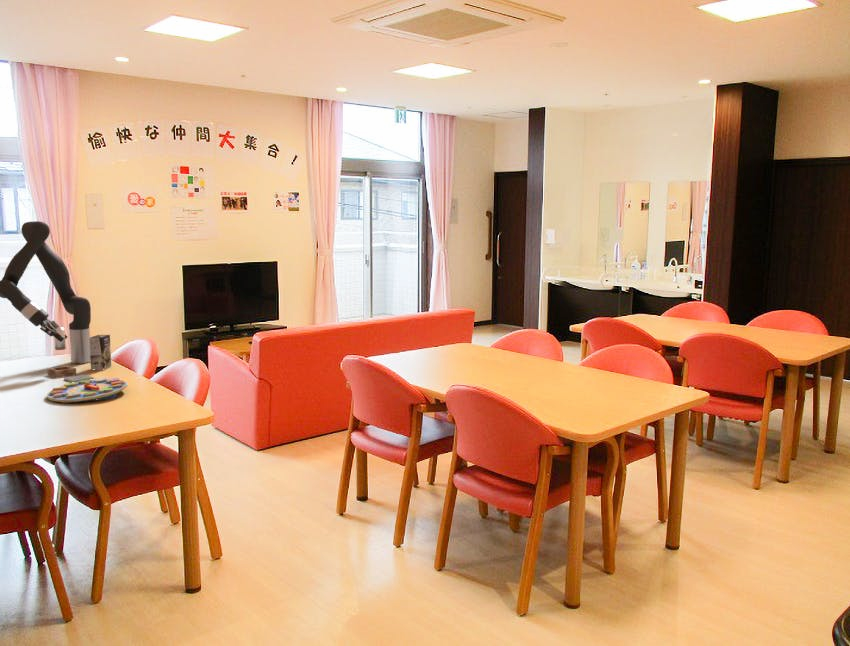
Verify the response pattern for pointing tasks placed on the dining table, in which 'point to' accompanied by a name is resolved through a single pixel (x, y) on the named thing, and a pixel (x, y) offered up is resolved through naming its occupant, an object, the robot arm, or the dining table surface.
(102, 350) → the coffee box
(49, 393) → the shape sorting clock
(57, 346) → the metal cylinder
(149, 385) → the dining table surface
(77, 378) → the slate tile
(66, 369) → the pocket block
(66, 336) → the robot arm
